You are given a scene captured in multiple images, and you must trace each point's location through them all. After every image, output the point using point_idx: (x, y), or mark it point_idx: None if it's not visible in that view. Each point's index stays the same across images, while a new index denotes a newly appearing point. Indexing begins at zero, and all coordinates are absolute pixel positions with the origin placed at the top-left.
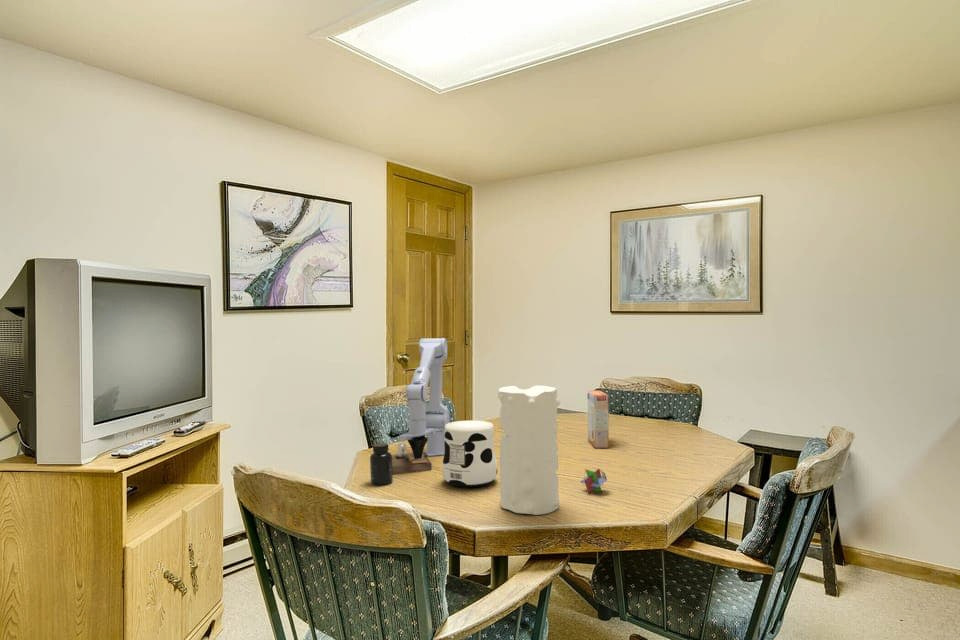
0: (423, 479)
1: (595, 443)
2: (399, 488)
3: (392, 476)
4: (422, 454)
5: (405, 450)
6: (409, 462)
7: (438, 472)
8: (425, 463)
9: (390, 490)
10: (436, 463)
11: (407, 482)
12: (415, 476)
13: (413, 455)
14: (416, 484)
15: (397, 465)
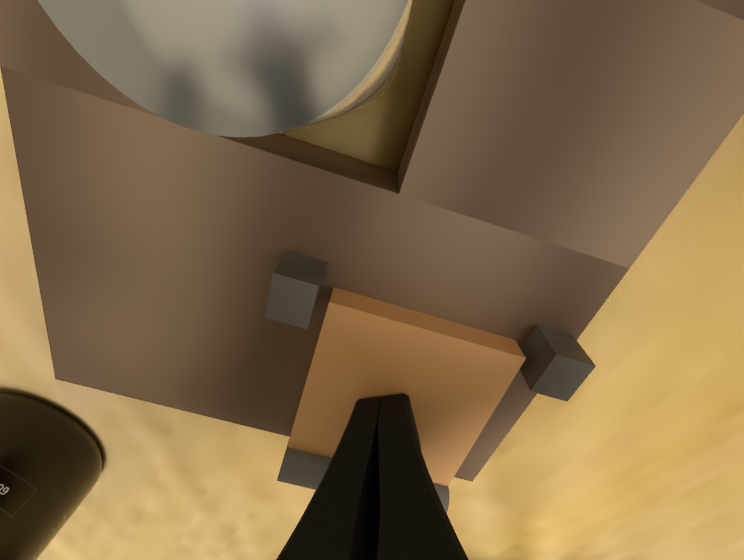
0: (299, 515)
1: None
2: (131, 540)
3: (76, 508)
4: (726, 102)
5: (348, 108)
6: (296, 363)
7: (459, 478)
8: None
9: (82, 537)
10: (662, 290)
11: (195, 505)
12: (281, 459)
13: (561, 51)
14: (231, 543)
15: (138, 380)
